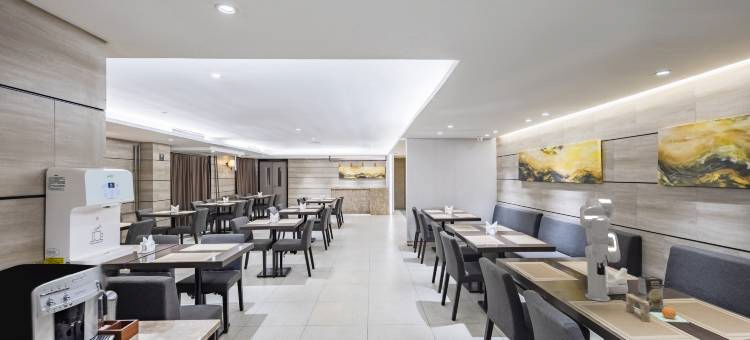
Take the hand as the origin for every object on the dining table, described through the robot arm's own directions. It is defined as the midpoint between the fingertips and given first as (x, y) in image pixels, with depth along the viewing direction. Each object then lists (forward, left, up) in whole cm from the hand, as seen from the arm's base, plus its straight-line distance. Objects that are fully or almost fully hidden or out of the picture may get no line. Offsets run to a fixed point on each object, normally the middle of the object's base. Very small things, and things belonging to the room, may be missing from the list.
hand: (600, 274), depth 187 cm
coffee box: (-11, +30, -20) cm, 38 cm away
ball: (+5, +29, -17) cm, 34 cm away
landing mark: (+4, +29, -20) cm, 35 cm away
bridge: (+4, +15, -20) cm, 25 cm away
